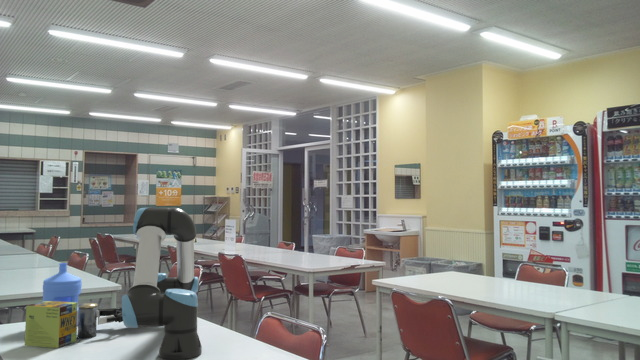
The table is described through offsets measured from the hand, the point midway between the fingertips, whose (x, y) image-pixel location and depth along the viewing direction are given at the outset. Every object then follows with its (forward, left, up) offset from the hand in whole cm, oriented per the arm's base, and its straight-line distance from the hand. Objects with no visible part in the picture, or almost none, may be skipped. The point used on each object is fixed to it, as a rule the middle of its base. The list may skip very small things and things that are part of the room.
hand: (90, 318), depth 207 cm
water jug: (+25, +2, -7) cm, 27 cm away
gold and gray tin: (-1, +2, -7) cm, 7 cm away
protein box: (-1, +16, -7) cm, 17 cm away
